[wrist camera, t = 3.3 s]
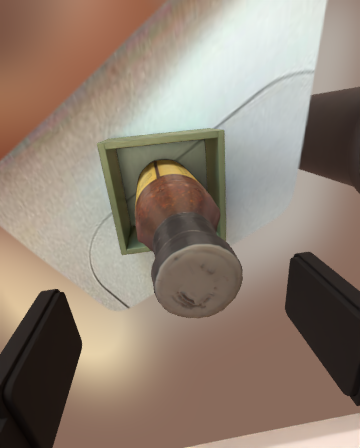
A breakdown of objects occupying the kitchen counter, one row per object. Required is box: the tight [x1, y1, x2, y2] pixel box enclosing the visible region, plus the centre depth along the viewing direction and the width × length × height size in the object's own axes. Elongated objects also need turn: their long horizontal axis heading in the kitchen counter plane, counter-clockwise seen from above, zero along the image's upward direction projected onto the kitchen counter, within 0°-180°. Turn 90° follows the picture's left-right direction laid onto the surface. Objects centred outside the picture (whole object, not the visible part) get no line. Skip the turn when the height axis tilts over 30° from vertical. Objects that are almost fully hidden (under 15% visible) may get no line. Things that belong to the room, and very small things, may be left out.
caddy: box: [97, 128, 226, 255], centre depth 26 cm, size 11×11×6 cm
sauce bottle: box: [135, 160, 243, 318], centre depth 19 cm, size 7×6×20 cm
